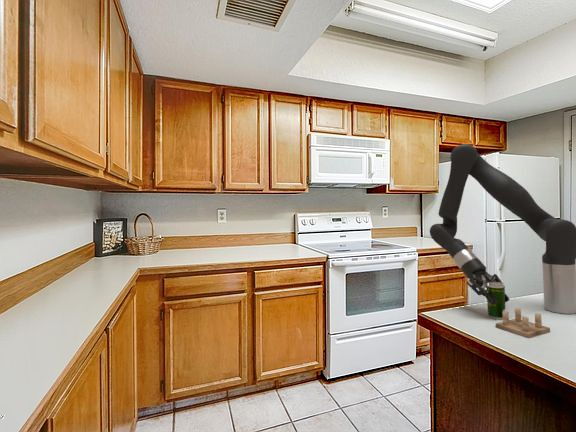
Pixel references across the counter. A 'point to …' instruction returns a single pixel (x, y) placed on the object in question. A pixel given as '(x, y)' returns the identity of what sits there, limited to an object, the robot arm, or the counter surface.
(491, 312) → the beer can
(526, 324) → the dowel holder
